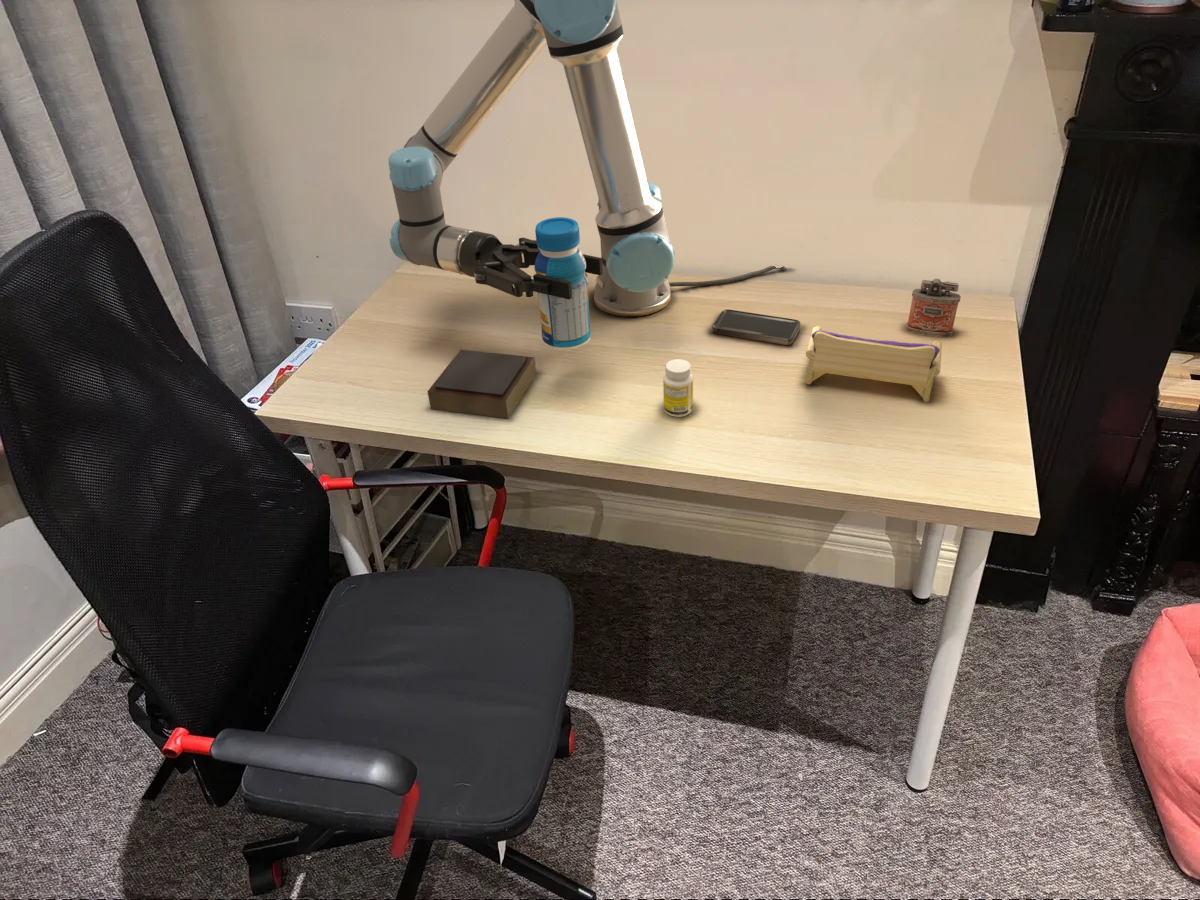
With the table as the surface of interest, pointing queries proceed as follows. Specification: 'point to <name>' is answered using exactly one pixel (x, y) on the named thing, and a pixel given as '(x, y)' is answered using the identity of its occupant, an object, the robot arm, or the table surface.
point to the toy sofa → (874, 360)
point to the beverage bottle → (564, 261)
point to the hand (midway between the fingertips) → (585, 278)
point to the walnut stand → (482, 383)
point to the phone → (756, 327)
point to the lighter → (933, 308)
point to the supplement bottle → (678, 388)
